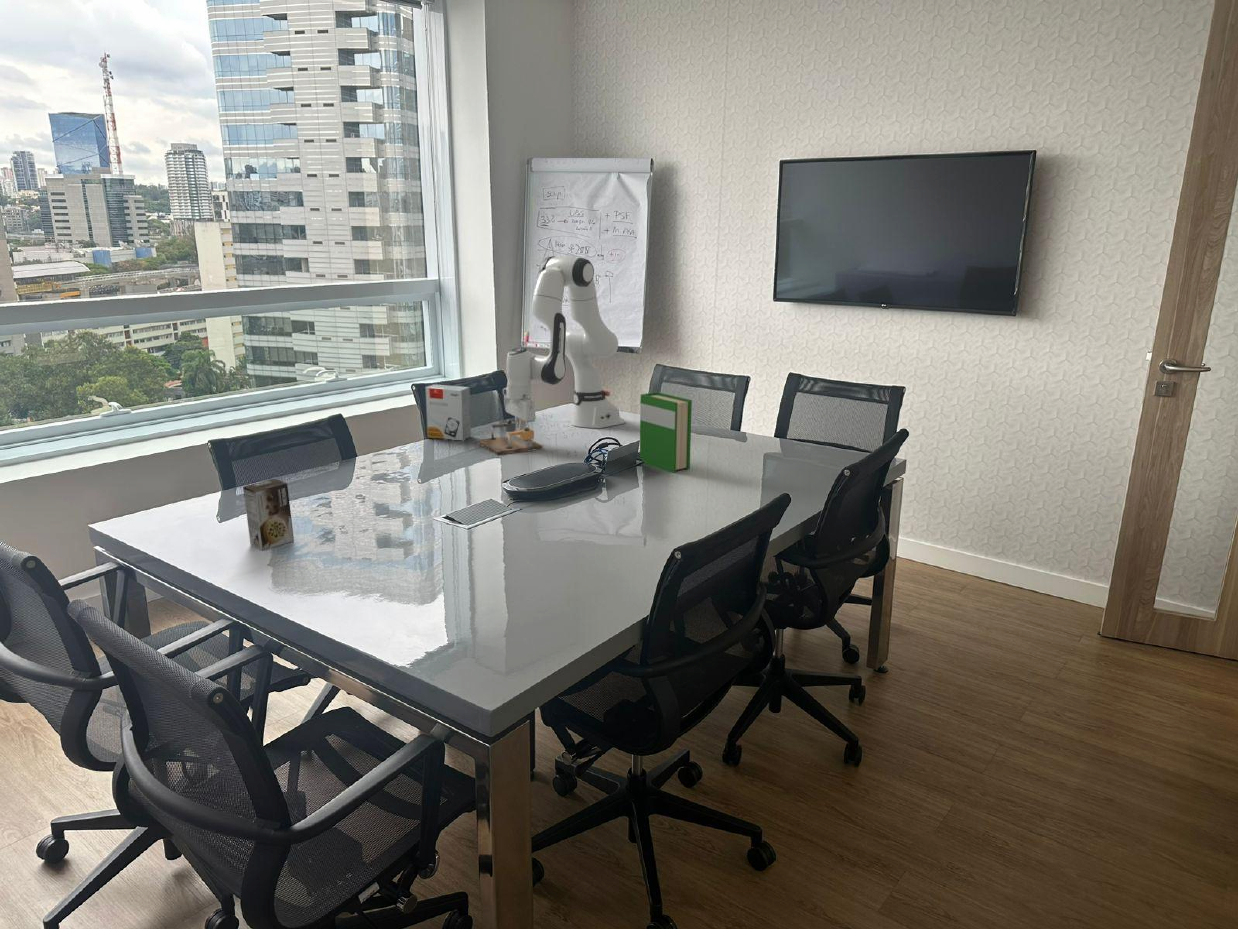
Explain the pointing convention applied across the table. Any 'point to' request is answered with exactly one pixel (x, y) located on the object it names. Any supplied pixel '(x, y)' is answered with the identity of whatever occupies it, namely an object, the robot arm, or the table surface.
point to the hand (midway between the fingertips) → (520, 428)
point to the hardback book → (665, 431)
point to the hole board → (505, 445)
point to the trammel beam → (511, 428)
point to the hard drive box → (448, 412)
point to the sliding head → (522, 435)
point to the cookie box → (268, 514)
